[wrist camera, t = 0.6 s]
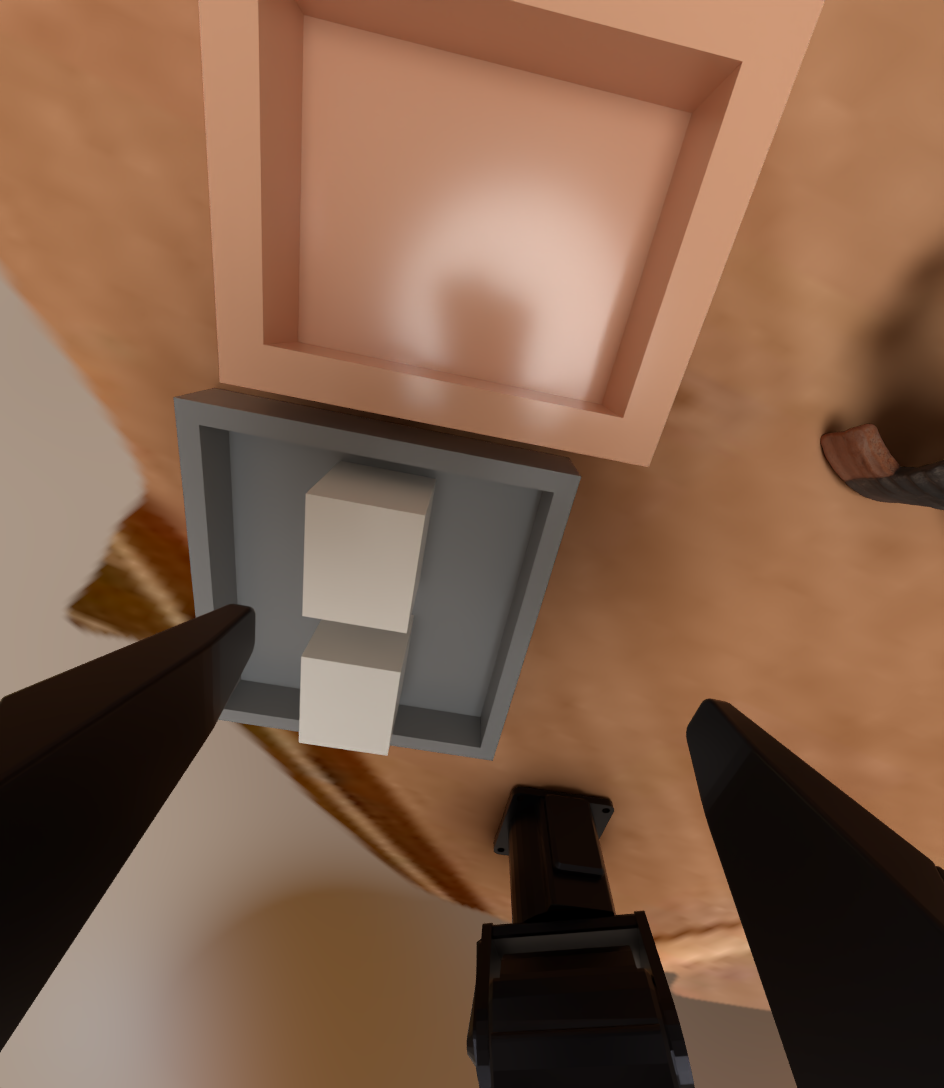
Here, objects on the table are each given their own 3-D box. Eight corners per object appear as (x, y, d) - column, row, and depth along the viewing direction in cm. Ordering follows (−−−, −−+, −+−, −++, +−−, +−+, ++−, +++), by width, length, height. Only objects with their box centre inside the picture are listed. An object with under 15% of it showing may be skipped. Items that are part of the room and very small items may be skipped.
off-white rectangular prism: (401, 690, 24) (387, 755, 20) (326, 678, 24) (298, 742, 20) (413, 614, 22) (400, 672, 18) (331, 601, 21) (301, 656, 18)
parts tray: (491, 720, 25) (492, 760, 23) (232, 680, 24) (206, 717, 22) (568, 457, 19) (581, 476, 16) (214, 387, 18) (173, 397, 15)
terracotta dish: (620, 443, 18) (649, 467, 15) (267, 372, 17) (220, 382, 14) (746, 72, 13) (827, -6, 10) (262, -55, 12) (187, -183, 9)
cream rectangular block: (419, 580, 21) (406, 633, 17) (333, 565, 20) (302, 615, 17) (436, 479, 19) (425, 515, 15) (340, 460, 18) (305, 493, 15)
